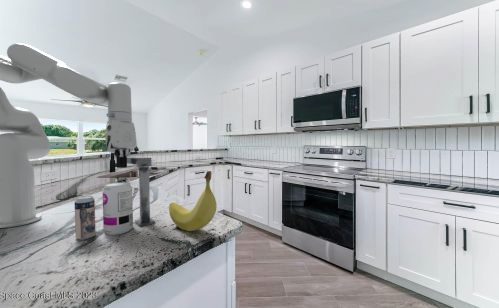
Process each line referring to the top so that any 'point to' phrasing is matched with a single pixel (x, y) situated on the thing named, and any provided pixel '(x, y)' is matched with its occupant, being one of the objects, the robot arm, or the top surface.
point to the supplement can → (117, 208)
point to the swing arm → (139, 161)
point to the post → (144, 198)
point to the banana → (195, 210)
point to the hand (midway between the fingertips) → (121, 167)
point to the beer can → (85, 217)
